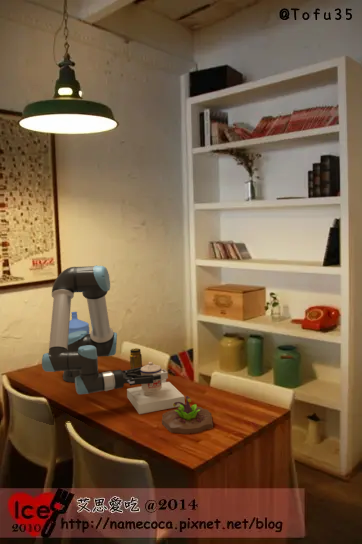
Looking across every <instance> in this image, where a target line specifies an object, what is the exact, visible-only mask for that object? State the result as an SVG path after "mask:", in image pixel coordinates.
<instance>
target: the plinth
mask: <svg viewBox="0 0 362 544" xmlns="http://www.w3.org/2000/svg"><path fill="white" fill-rule="evenodd" d="M126 397H127V399H128V400H129V402H130V403H131V404H132V406H133V407H134V409H135V410H136V412H137V413H138V414H139V415H144V414H148V413H152V412H157V411H163V410H167V409H173V408H178V407H180V404H179V403H178V404H177V405H176V406H173V403H175V402H182V403H183V404H185V405H186V402H185V399H186V396H185V395H184V394H182V392H180V390H178V389H177V388H176V387H175V386H174V385H173V384H172V383H171V382H170V381H166V382H164V383H162V388H161V389H160V390H158V391H154V392H147V391H144V390H142V385H141V386H135V387H130V388H127V389H126Z"/></svg>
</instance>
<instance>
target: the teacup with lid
mask: <svg viewBox="0 0 362 544" xmlns="http://www.w3.org/2000/svg"><path fill="white" fill-rule="evenodd" d="M160 366H161V365H158V364H155V363H154V362H153V361H148V364H146V365H142V368H141V369H140V371H141V375H152V374H156V373H161V371H163V372H167V370H166V369H165V370H166V371H165V370H164V369H163V368H162V367H160ZM162 380H163V379H161V380H155V381H154V383H149V384H141V386H142V390H144V391H147V392H154V391H158V390H160V389H161V388H162V383H161V381H162Z"/></svg>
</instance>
